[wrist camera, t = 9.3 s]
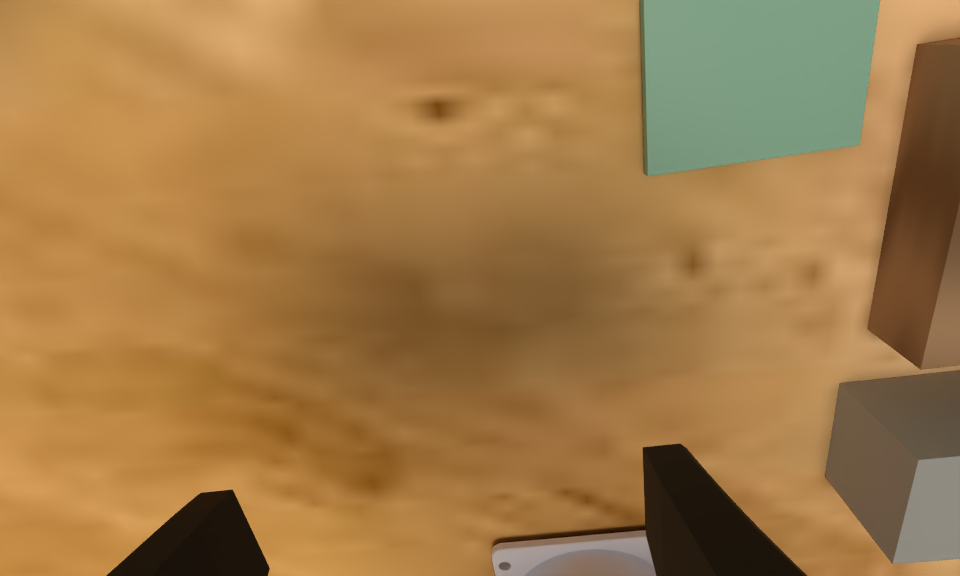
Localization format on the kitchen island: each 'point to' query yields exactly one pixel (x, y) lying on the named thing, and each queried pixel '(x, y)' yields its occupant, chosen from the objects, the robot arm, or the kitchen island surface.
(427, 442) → the kitchen island surface
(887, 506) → the slate block
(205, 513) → the robot arm
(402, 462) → the kitchen island surface
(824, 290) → the kitchen island surface
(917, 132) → the walnut block
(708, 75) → the teal square tile
